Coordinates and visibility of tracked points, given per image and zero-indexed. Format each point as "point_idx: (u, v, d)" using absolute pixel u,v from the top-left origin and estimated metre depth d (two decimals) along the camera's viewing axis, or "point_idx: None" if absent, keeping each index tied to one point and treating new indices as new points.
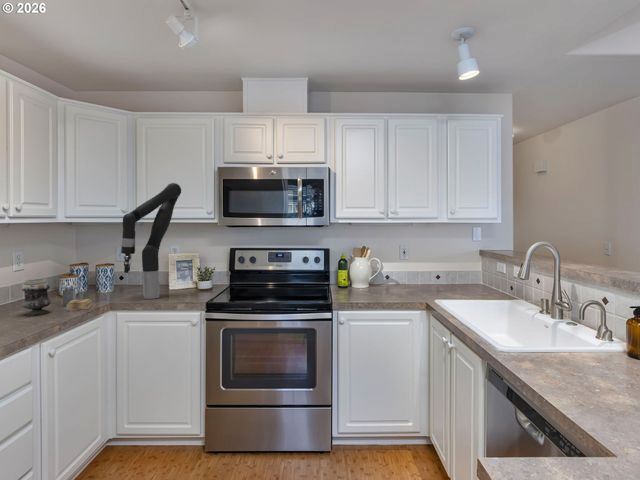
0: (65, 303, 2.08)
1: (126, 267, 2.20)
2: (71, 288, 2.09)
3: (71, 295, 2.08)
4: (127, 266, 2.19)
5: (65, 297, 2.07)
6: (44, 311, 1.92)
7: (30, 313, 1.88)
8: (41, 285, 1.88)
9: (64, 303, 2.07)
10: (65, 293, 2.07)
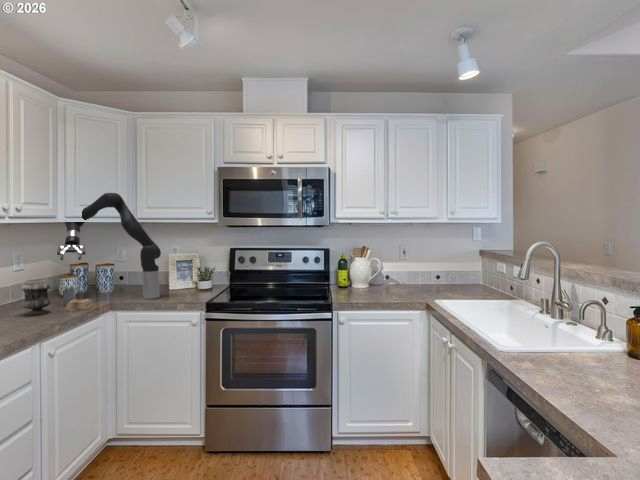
0: (65, 303, 2.08)
1: None
2: (71, 288, 2.09)
3: (71, 295, 2.08)
4: (59, 253, 2.18)
5: (65, 297, 2.07)
6: (44, 311, 1.92)
7: (30, 313, 1.88)
8: (41, 285, 1.88)
9: (64, 303, 2.07)
10: (65, 293, 2.07)
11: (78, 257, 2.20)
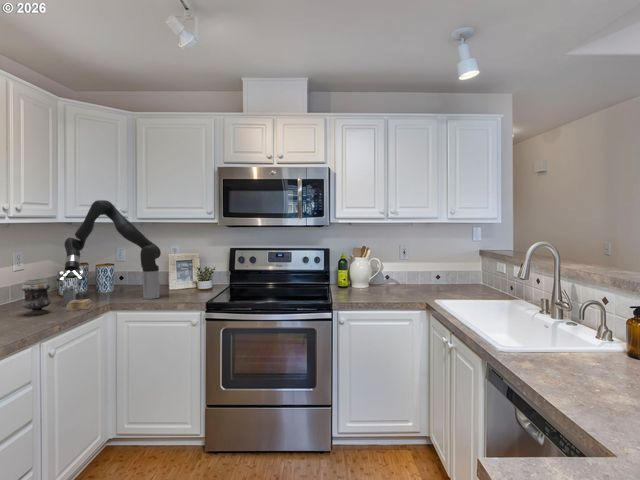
0: (65, 303, 2.08)
1: (60, 281, 2.15)
2: (71, 288, 2.09)
3: (71, 295, 2.08)
4: (59, 280, 2.15)
5: (65, 297, 2.07)
6: (44, 311, 1.92)
7: (30, 313, 1.88)
8: (41, 285, 1.88)
9: (64, 303, 2.07)
10: (65, 293, 2.07)
11: (78, 283, 2.16)
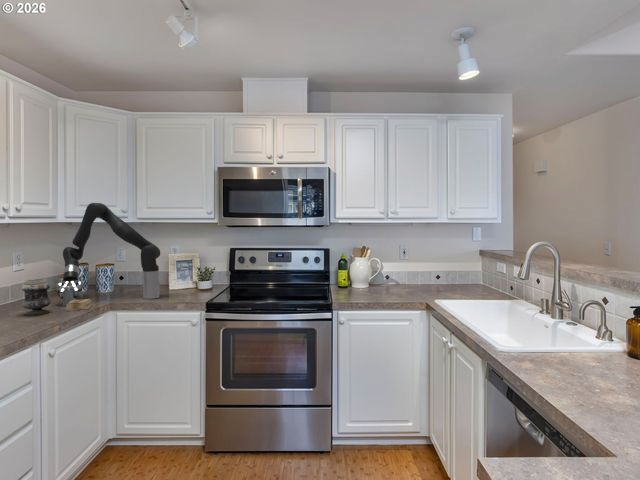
0: (65, 303, 2.08)
1: None
2: (71, 288, 2.09)
3: (71, 295, 2.08)
4: (60, 291, 2.09)
5: (65, 297, 2.07)
6: (44, 311, 1.92)
7: (30, 313, 1.88)
8: (41, 285, 1.88)
9: (64, 303, 2.07)
10: (65, 293, 2.07)
11: (74, 295, 2.09)
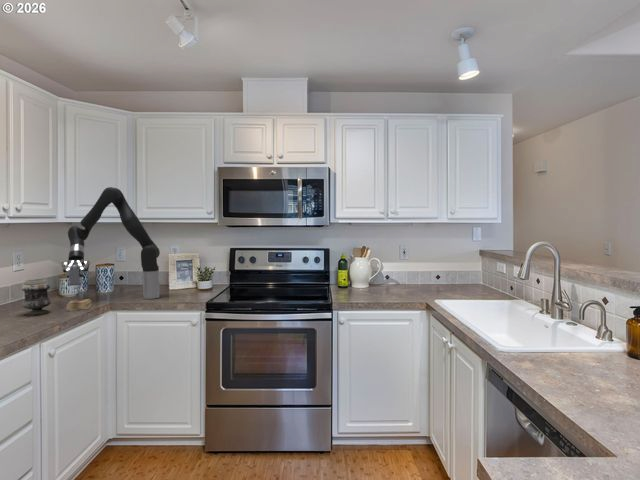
0: (71, 282, 2.03)
1: None
2: (77, 267, 2.04)
3: (77, 274, 2.04)
4: (65, 271, 2.04)
5: (71, 276, 2.03)
6: (44, 311, 1.92)
7: (30, 313, 1.88)
8: (41, 285, 1.88)
9: (70, 282, 2.02)
10: (70, 272, 2.02)
11: (80, 274, 2.04)
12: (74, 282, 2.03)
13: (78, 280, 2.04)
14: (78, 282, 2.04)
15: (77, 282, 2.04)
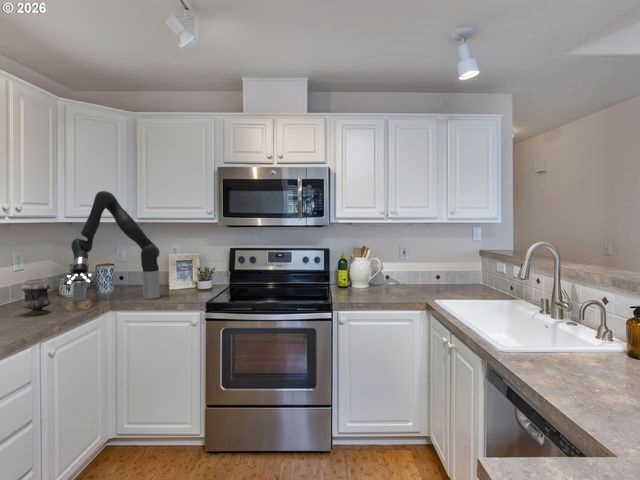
0: (75, 299, 2.00)
1: None
2: (81, 283, 2.02)
3: (82, 290, 2.01)
4: (66, 283, 2.01)
5: (75, 293, 2.00)
6: (44, 311, 1.92)
7: (30, 313, 1.88)
8: (41, 285, 1.88)
9: (74, 299, 2.00)
10: (75, 288, 2.00)
11: None
12: (78, 299, 2.01)
13: (83, 297, 2.01)
14: (83, 299, 2.02)
15: (81, 299, 2.01)
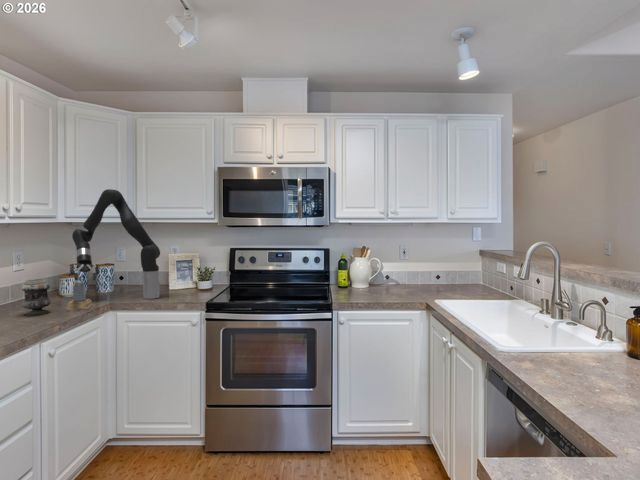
0: (75, 299, 2.00)
1: (74, 274, 2.12)
2: (81, 283, 2.02)
3: (82, 290, 2.01)
4: (73, 273, 2.11)
5: (75, 293, 2.00)
6: (44, 311, 1.92)
7: (30, 313, 1.88)
8: (41, 285, 1.88)
9: (74, 299, 2.00)
10: (75, 288, 2.00)
11: (93, 278, 2.16)
12: (78, 299, 2.01)
13: (83, 297, 2.01)
14: (83, 299, 2.02)
15: (81, 299, 2.01)
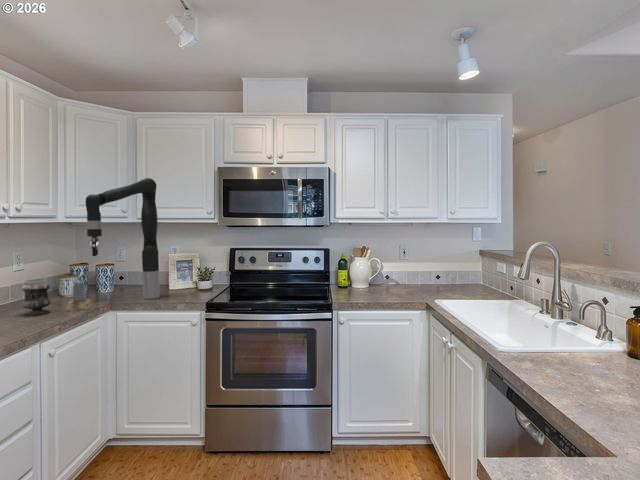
0: (75, 299, 2.00)
1: (94, 250, 2.13)
2: (81, 283, 2.02)
3: (82, 290, 2.01)
4: (95, 249, 2.13)
5: (75, 293, 2.00)
6: (44, 311, 1.92)
7: (30, 313, 1.88)
8: (41, 285, 1.88)
9: (74, 299, 2.00)
10: (75, 288, 2.00)
11: (97, 254, 2.22)
12: (78, 299, 2.01)
13: (83, 297, 2.01)
14: (83, 299, 2.02)
15: (81, 299, 2.01)
